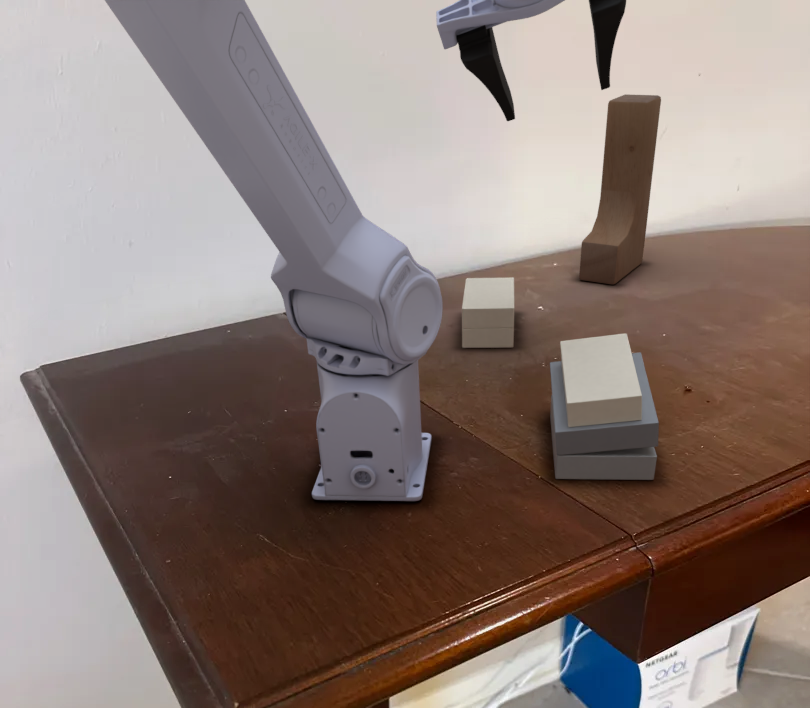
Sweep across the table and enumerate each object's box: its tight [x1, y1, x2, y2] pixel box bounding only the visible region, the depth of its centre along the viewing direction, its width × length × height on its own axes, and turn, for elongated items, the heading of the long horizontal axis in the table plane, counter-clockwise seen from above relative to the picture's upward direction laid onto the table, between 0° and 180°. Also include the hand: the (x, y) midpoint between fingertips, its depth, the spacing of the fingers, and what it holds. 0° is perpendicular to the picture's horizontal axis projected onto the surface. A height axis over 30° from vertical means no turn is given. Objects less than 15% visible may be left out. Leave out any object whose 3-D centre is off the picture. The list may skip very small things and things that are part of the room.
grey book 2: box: [549, 395, 658, 481], centre depth 62 cm, size 10×7×2 cm
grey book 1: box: [549, 351, 660, 455], centre depth 61 cm, size 10×7×2 cm
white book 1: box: [461, 276, 515, 329], centre depth 82 cm, size 9×5×2 cm, turn 174°
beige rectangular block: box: [559, 332, 642, 427], centre depth 59 cm, size 9×5×2 cm, turn 175°
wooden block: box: [578, 94, 662, 285], centre depth 91 cm, size 9×4×18 cm, turn 146°
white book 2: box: [461, 327, 515, 349], centre depth 83 cm, size 9×5×2 cm, turn 174°
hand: (556, 97), depth 66 cm, fingers open, 7 cm apart
